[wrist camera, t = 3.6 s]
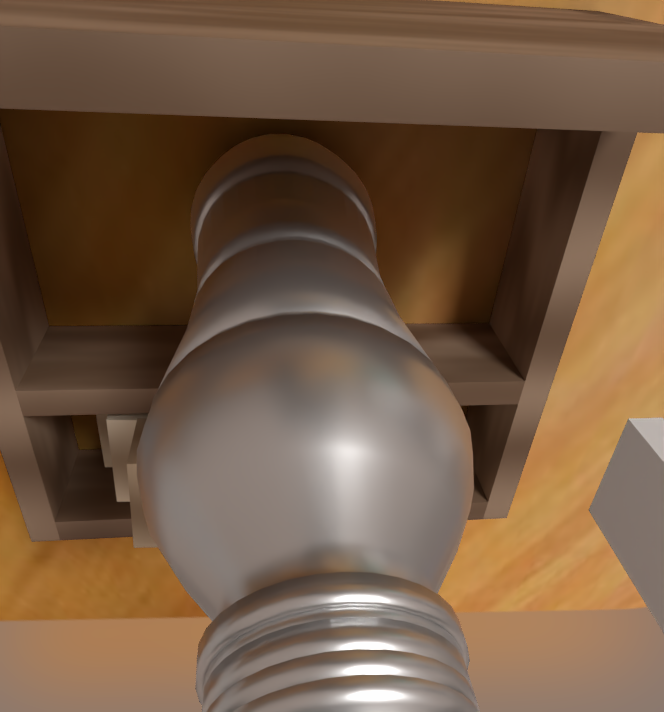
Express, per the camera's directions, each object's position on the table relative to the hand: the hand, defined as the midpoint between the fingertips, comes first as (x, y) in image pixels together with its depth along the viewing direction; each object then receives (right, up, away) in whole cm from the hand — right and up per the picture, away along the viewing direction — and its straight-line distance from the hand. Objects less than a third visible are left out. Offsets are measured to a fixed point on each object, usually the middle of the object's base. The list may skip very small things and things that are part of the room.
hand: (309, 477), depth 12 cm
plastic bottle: (-2, +9, +12) cm, 15 cm away
